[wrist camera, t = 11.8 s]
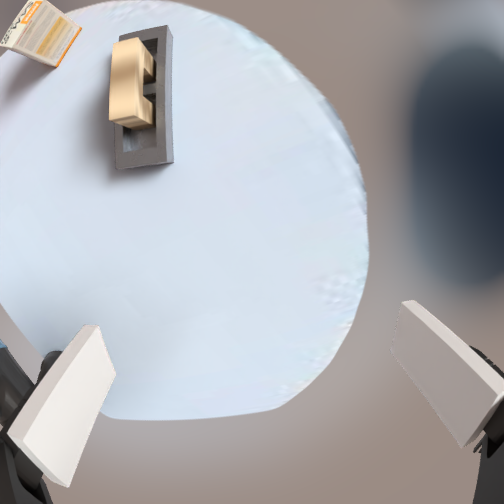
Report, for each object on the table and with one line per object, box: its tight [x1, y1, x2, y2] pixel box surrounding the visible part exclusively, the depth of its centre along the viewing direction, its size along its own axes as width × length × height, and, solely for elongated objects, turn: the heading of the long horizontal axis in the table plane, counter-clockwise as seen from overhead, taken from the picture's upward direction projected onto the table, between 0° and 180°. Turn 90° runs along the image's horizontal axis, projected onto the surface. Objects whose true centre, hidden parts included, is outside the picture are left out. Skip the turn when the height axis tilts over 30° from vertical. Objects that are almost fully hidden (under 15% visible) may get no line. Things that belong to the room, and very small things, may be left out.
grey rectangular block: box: [114, 25, 174, 169], centre depth 30 cm, size 20×7×4 cm, turn 3°
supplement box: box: [0, 0, 82, 67], centre depth 21 cm, size 8×5×13 cm, turn 150°
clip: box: [109, 37, 157, 130], centre depth 27 cm, size 10×3×9 cm, turn 3°
